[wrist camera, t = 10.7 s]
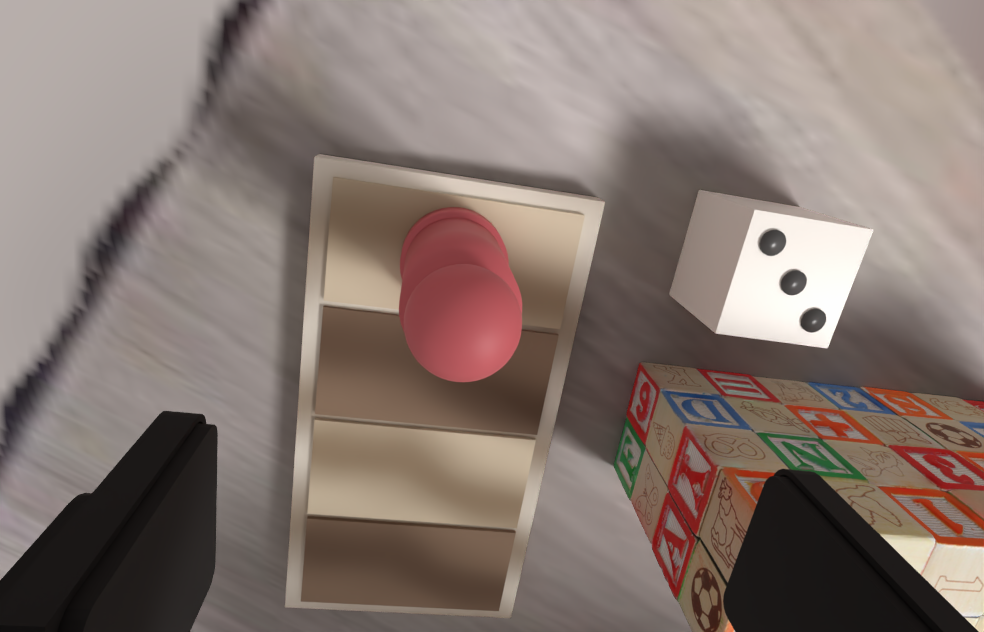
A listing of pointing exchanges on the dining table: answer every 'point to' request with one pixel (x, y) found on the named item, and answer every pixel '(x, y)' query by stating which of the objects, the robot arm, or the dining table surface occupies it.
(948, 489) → the stack of blocks
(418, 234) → the pawn
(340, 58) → the dining table surface
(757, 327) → the die
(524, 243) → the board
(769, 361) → the dining table surface
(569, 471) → the dining table surface
